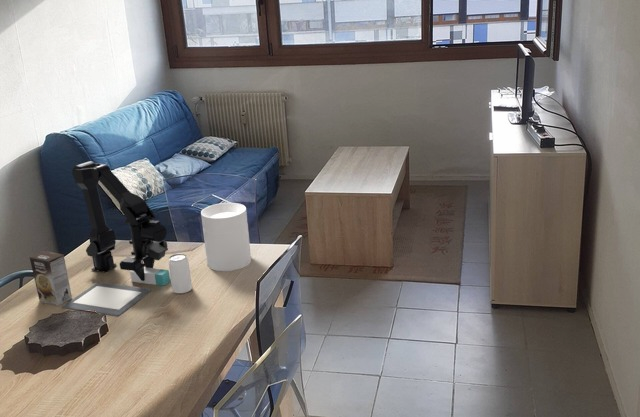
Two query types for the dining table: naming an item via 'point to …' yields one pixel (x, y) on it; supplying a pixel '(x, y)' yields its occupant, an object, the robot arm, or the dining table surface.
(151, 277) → the marker
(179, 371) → the dining table surface
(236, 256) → the canister
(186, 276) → the can
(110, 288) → the desk mat
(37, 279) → the coffee box
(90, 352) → the dining table surface
